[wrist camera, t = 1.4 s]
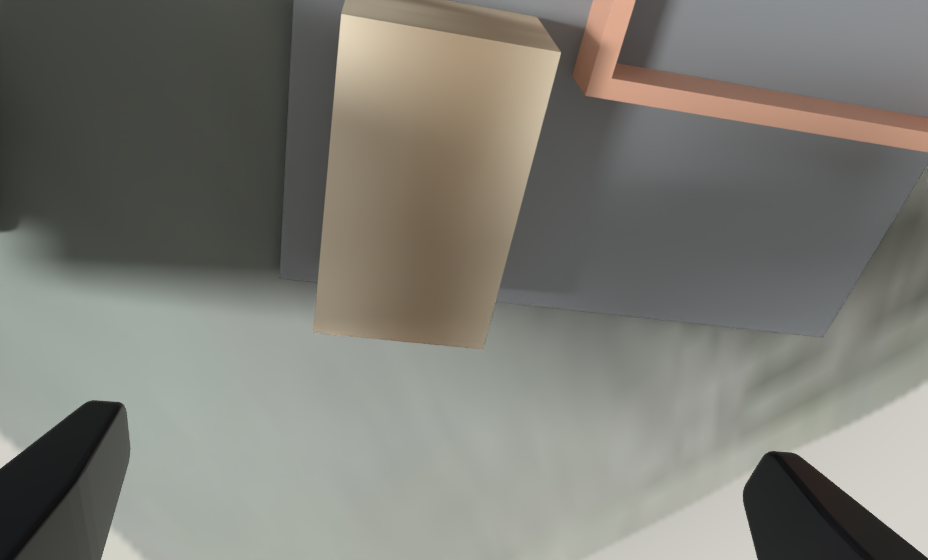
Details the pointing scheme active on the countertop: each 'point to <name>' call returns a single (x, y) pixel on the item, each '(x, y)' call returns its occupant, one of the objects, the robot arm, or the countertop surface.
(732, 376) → the countertop surface
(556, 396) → the countertop surface
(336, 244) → the cream rectangular prism
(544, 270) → the mat
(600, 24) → the frame
